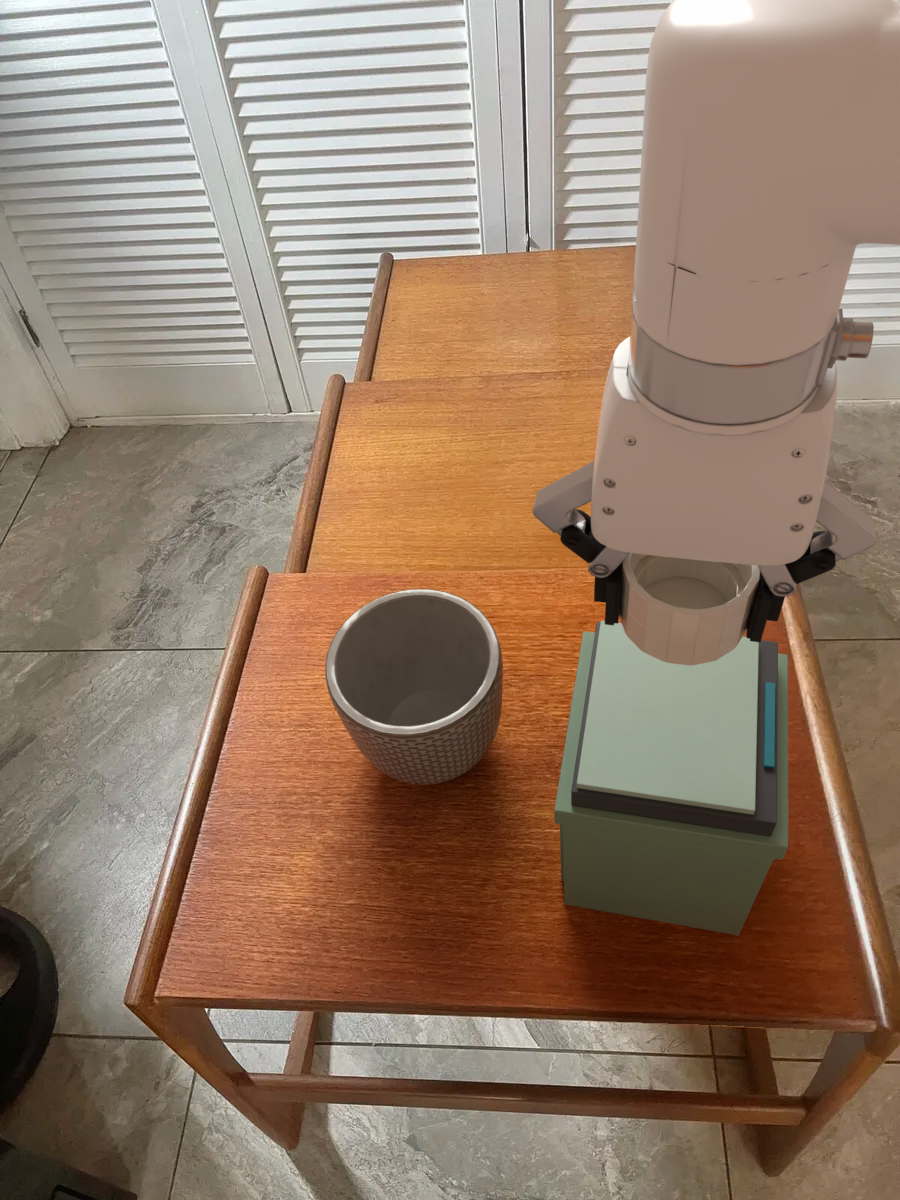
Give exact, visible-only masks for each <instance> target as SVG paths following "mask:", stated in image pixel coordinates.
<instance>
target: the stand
mask: <svg viewBox="0 0 900 1200" xmlns="http://www.w3.org/2000/svg"><path fill="white" fill-rule="evenodd" d="M594 637H595V632H593V631H583V632H582V636H581V642H580V647H579V654H578V661H577V667H576V673H575V679H574V685H573V691H572V698H571V703H570V710H569V717H568V722H567V728H566V735H565V741H564V746H563V747H564V748H563V753H562V761H561V766H560V772H559V779H558V785H557V792H556V797H555V803H554V809H553V810H554V812H553V813H554V814H553V815H554V824H556V825H559V844H560V845H559V846H560V847H559V848H560V849H559V850H560V880H561V881H562V882H563V892H564V893H563V899H564V900H563V903H564V905H567V906H572V907H577V908H583V909H588V910H592V911H593V910H594V911H599V912H605V913H611V914H616V915H622V916H628V917H632V918H639V919H644V920H649V921H655V922H661V923H666V924H671V925H677V926H683V927H688V928H693V929H698V930H705V931H711V932H716V933H722V934H727V935H732V936H740V934H741V931H742V929H743V927H744V925H745V922H746V920H747V918H748V916H749V913H750V912H751V909H752V907H753V905H754V903H755V901H756V898H757V896H758V894H759V892H760V890H761V888H762V885H763V884H764V881H765V878H766V877H767V875H768V872H769V870H770V867H772V864H773V861H774V860H779V861H783V859H784V857H785V855H786V853H787V851H788V849H789V655H788V654H786V653H785V654H784V653H778V715H777V824H776V826H775V828H774V831H773V833H772V835H771V837H769V836H762V835H756V834H749V833H743V832H737V831H730V830H724V829H717V828H711V827H705V826H698V825H692V824H685V823H679V822H673V821H666V820H660V819H653V818H647V817H641V816H634V815H628V814H621V813H615V812H609V811H602V810H596V809H589V808H583V807H576V806H572V805H571V789H572V783H573V776H574V769H575V763H576V756H577V750H578V743H579V736H580V730H581V723H582V717H583V710H584V703H585V697H586V690H587V683H588V677H589V670H590V664H591V657H592V650H593V644H594Z"/></svg>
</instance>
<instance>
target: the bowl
mask: <svg viewBox="0 0 900 1200" xmlns="http://www.w3.org/2000/svg"><path fill="white" fill-rule="evenodd" d="M759 580H760V570H759V568H758V566H757V565H747V564H735V563H724V562H713V561H702V560H692V559H682V558H672V557H662V556H653V555H644V554H636V553H630V554H629V555H628V556H627V558H626V559H625V560H624V561H623V565H622V583H621V597H620V611H619V620H620V623H622V626H623V628H624V631H625V634H626V635H627V637H628V638H629V639H630V640H631V641H632V642H633V643H634V644H635V645H636V646H637V647H638V648H639V649H640V650H641V651H643V652H644V653H646V654H648V655H650V656H652V657H654V658H657V659H659V660H661V661H663V662H666V663H673V664H681V665H689V666H690V665H692V666H693V665H698V664H703V663H708V662H713V661H716V660H718V659H720V658H721V657H723V656H724V655H726V654H727V653H729V652H730V651H732V650H733V649H735V647H737V645H738V643H739V642H740V640H741V638H742V637H744V635H745V633H747V625H748V621H749V617H750V614H751V610H752V606H753V602H754V599H755V595H756V591H757V587H758V584H759Z"/></svg>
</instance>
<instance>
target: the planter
mask: <svg viewBox="0 0 900 1200" xmlns="http://www.w3.org/2000/svg"><path fill="white" fill-rule="evenodd" d="M342 623H343V624H342V625H340V627H339V629H338V630H337V631H336V633H335V635H334V637H333V638H332V640H331V642H330V645H329V647H328V650H327V654H326V659H325V665H324V667H325V669H324V670H325V671H324V675H325V676H324V677H325V682H326V687H327V692H328V695H329V698H330V700H331V703H332V705H333V707H334V709H335V712H336V713H337V715H338V716H339V718H340V720H341V722H342V724H343V726H344V728H345V730H346V732H347V733H348V735H349V736H350V738H351V739H352V741H353V742H354V744H355V746H356V747H357V749H358V750H359V751H360V753H361V754H362V755H363V756H364V757H365V758H366V760H368V762H369V763H370V764H371V765H372V766H373V767H375V768H376V769H377V770H379V772H381V773H383V775H386V776H388V777H389V778H392V779H394V780H396V781H399V782H402V783H406V784H412V785H419V786H420V785H424V786H425V785H436V784H442V783H445V782H449V781H451V780H454V779H456V778H458V777H460V776H462V775H464V774H465V773H467V772H468V771H470V770H471V769H472V768H473V767H475V766H476V765H477V764H478V763H480V761H481V760H482V759H483V757H484V756H486V754H487V753H488V751H489V749H490V748H491V747H492V744H493V742H494V740H495V737H496V735H497V733H498V729H499V725H500V721H501V720H500V719H501V716H502V708H503V707H502V705H503V692H504V691H503V689H504V686H503V684H504V683H503V682H504V681H503V679H504V676H503V675H504V674H503V672H504V670H503V669H504V662H503V655H502V647H501V643H500V641H499V638H498V634H497V632H496V630H495V628H494V627H493V625H492V623H491V621H490V620H489V618H488V617H487V616H486V615H485V614H484V613H483V611H482V610H481V609H479V608H478V607H477V606H476V605H475V604H473V603H472V602H471V601H468V600H467V599H465V598H464V597H462V596H459V595H457V594H454V593H452V592H448V591H443V590H439V589H433V588H411V589H402V590H398V591H395V592H390V593H386V594H384V595H382V596H380V597H379V596H378V597H377V598H375V599H373V600H371V601H369V602H368V603H366V604H364V605H363V606H361V607H360V608H358V609H357V610H356V611H354V612H353V613H352V614H351V615H350V616H348V618H347V619H346V620H345V621H344V622H342Z"/></svg>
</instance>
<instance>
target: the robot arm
mask: <svg viewBox="0 0 900 1200" xmlns="http://www.w3.org/2000/svg"><path fill="white" fill-rule="evenodd" d="M642 122H643V124H642V125H643V126H642V140H641V156H640V175H639V190H638V191H639V192H638V208H637V209H638V210H637V226H636V237H635V238H636V239H635V240H636V241H635V256H634V267H633V268H634V270H633V284H632V285H633V286H632V287H633V288H632V304H631V314H630V315H631V318H630V332H629V336H628V337H627V338H625V339H624V340H622V341H621V342H620V343H619V344H618V346H616V348H615V350H614V353H613V356H612V359H611V362H610V366H609V368H608V372H607V374H606V380H605V383H604V389H603V393H602V399H601V405H600V412H599V418H598V426H597V435H596V445H595V453H594V460H593V461H590V462H589V463H587V464H585V465H583V466H582V467H580V468H578V469H576V470H574V471H572V472H571V473H569V474H567V475H565V476H563V477H561V478H560V479H557V480H555V481H553V482H552V483H549V484H548V485H545V486H544V487H543V488H541V489H539V490H537V492H536V494H535V498H534V503H533V507H532V515H533V516H534V517H535V518H536V519H537V520H538V521H539V522H540V523H542V524H543V525H544V526H545V527H546V528H548V529H549V530H550V531H551V532H552V533H553V534H555V533H556V534H557V535H558V536H559V537H560V542H561V544H562V545H563V546H565V547H566V548H567V549H569V550H570V551H571V552H572V553H574V554H575V555H577V556H578V557H579V558H580V559H582V560H583V561H585V562H586V563H587V564H588V566H587V572H588V573H589V574H590V575H591V576H593V577H594V586H593V590H594V591H593V602H594V603H595V602H596V603H605V607H604V608H605V611H604V621H605V625H613V626H614V623H617V624H618V623H619V620H620V617H619V611H620V597H621V583H622V565H623V561H624V560H625V559H626V558H627V556H628V555H629V554H630V553H636V554H644V555H653V556H662V557H672V558H682V559H692V560H702V561H713V562H724V563H735V564H747V565H757V566H758V568H759V570H760V580H759V584H758V587H757V591H756V595H755V599H754V602H753V606H752V610H751V614H750V617H749V621H748V625H747V629H746V637H747V638H748V639H750V641H752V642H761V640H763V639H762V638H763V635H764V632H765V629H766V626H767V625H766V624H767V621H769V622H778V621H779V618H780V615H781V612H782V608H783V605H784V602H785V599H786V597H790V596H793V595H794V594H795V593H796V592H797V585H798V584H801V583H803V582H806V581H808V580H811V579H813V578H815V577H818V576H821V575H823V574H825V573H828V572H830V571H832V570H833V569H834V568H835V567H836V564H837V562H839V561H842V560H843V561H846V560H848V559H850V558H852V557H854V556H856V555H858V554H861V553H862V552H864V551H866V550H869V549H870V548H872V547H874V546H875V545H876V544H877V535H876V521H875V519H874V518H873V517H872V516H871V515H869V514H868V513H867V512H866V511H865V510H863V509H862V508H860V507H859V506H858V505H857V504H856V503H854V502H853V501H852V500H850V499H849V498H848V497H847V496H845V495H844V494H843V493H841V492H840V491H839V490H838V489H837V488H835V487H834V486H833V485H832V484H830V482H828V481H827V480H826V477H827V472H828V466H829V460H830V454H831V445H832V435H833V430H834V422H835V415H836V414H835V413H836V412H835V411H836V406H837V394H838V368H837V361H838V362H839V361H841V362H845V361H847V359H848V358H849V359H851V358H853V359H867V358H868V357H869V355H870V352H871V349H872V344H873V338H874V328H875V327H874V323H873V322H872V321H871V322H870V321H854V318H853V317H844V313H843V308H840V307H841V304H842V299H843V296H844V292H845V289H846V286H847V281H848V279H849V278H848V277H849V275H850V270H851V267H852V264H853V259H854V256H855V251H856V248H857V245H861V244H876V245H877V244H878V245H895V246H900V0H672V1H671V2H670V4H669V5H668V7H667V8H666V9H665V11H664V12H663V14H662V15H661V16H660V18H659V20H658V23H657V24H656V27H655V29H654V31H653V35H652V38H651V40H650V45H649V48H648V56H647V65H646V74H645V89H644V106H643V121H642ZM589 503H590V515H589V514H588V513H586V511H584V510H582V509H579V508H581V507H582V506H586V505H587V504H589ZM816 524H818V525H820V526H821V527H822V528H823V529H825V530H819V531H815V528H816Z"/></svg>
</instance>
